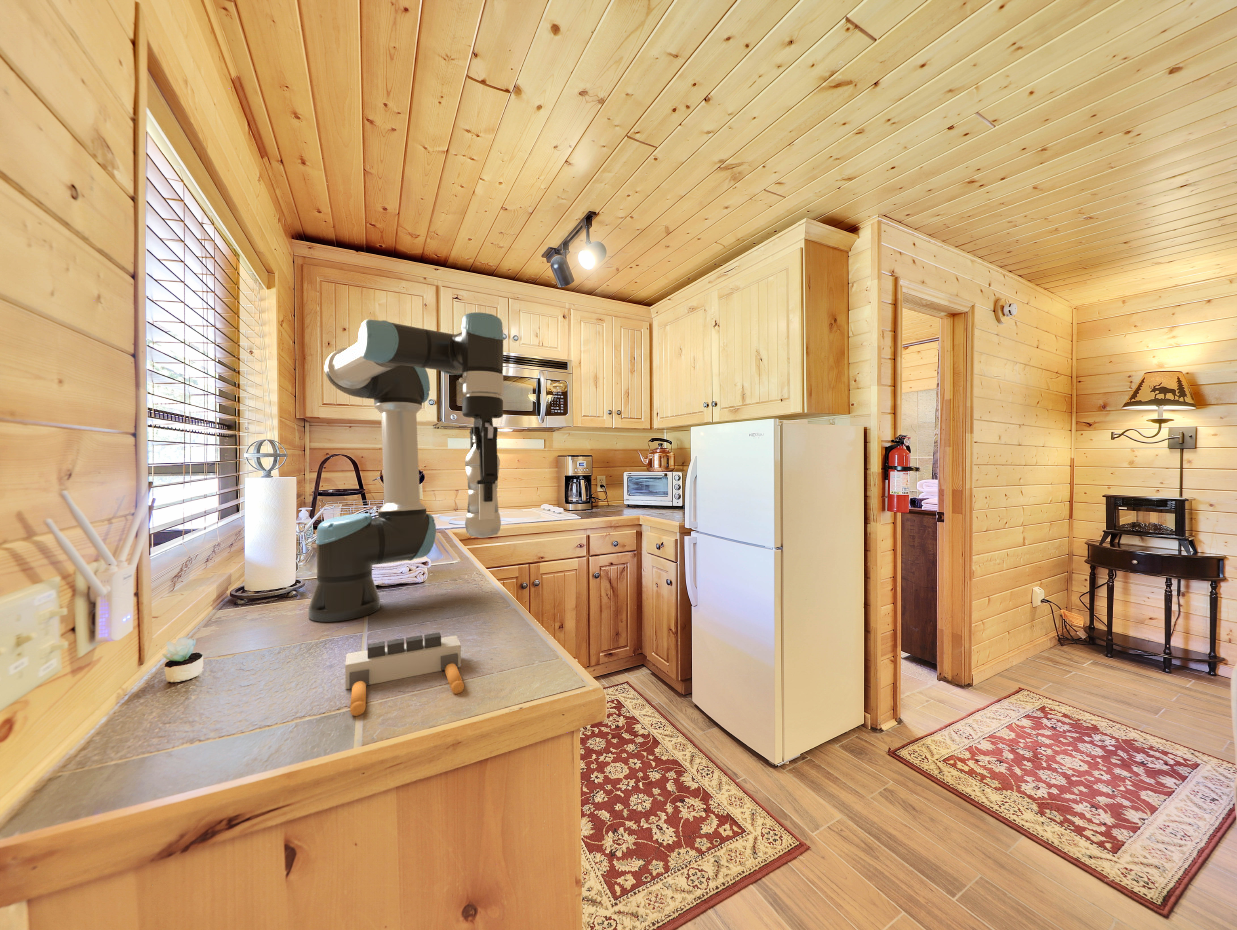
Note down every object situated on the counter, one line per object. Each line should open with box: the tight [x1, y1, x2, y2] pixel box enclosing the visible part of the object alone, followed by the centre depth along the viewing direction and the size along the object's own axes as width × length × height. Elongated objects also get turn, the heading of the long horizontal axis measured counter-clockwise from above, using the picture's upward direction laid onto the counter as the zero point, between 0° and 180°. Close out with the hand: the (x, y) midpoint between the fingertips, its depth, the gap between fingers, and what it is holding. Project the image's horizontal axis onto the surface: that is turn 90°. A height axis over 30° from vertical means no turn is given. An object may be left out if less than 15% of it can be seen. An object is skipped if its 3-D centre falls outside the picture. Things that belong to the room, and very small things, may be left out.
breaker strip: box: [344, 632, 462, 690], centre depth 83 cm, size 6×18×6 cm, turn 117°
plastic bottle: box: [464, 435, 502, 539], centre depth 91 cm, size 6×7×20 cm
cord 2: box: [444, 663, 465, 695], centre depth 79 cm, size 9×2×2 cm, turn 28°
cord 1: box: [349, 681, 367, 717], centre depth 72 cm, size 9×2×2 cm, turn 27°
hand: (483, 516), depth 91 cm, fingers closed on plastic bottle, 6 cm apart
